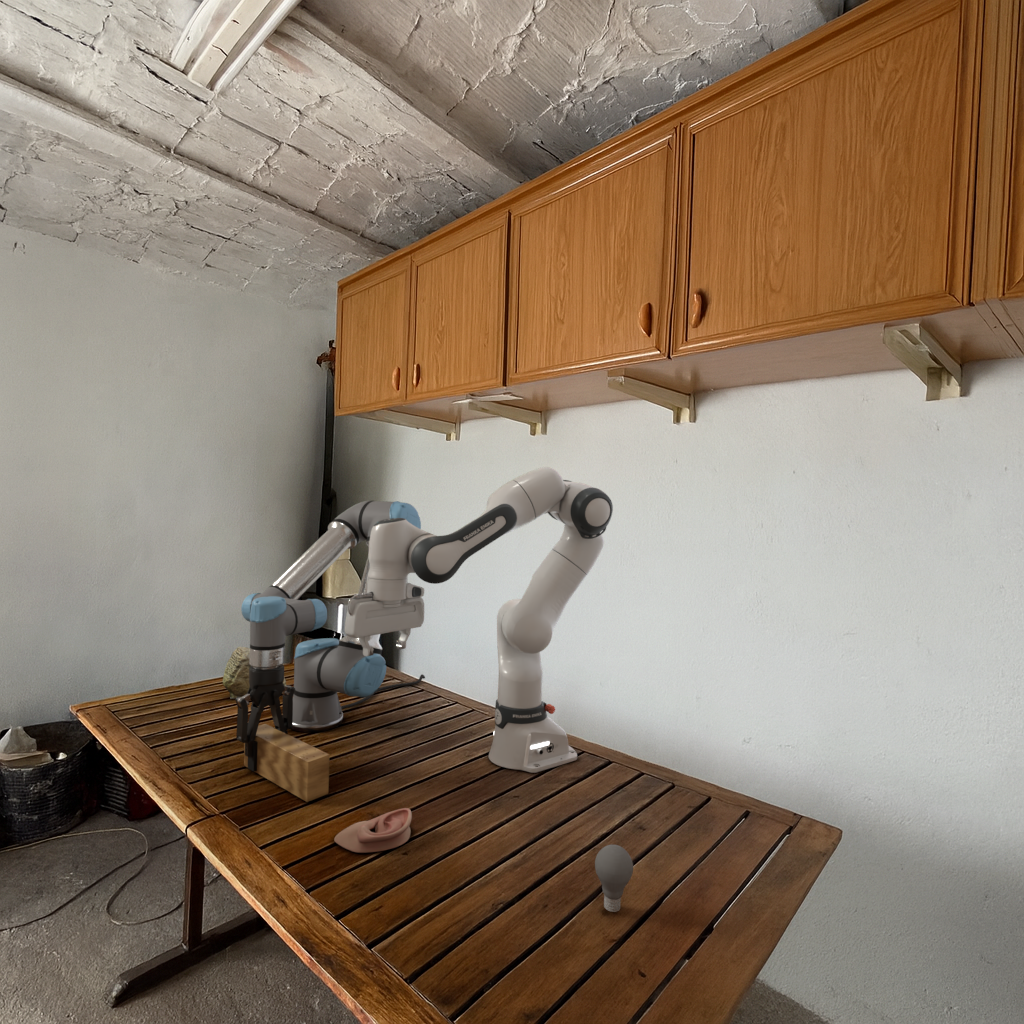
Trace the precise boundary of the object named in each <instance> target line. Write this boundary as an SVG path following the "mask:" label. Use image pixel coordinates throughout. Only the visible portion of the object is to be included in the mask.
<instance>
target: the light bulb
mask: <svg viewBox="0 0 1024 1024" xmlns="http://www.w3.org/2000/svg"><path fill="white" fill-rule="evenodd" d="M594 869H595V874H596V875H597V878H598V880H599V882H600V883H601V888H602V893H603V895H604V896H603V907H604V909H605V910H607V911H608V912H612V913H617V912H619V911H620V910H621V901H622V896H623V894H624V889H625V888H626V886H627V884H629V882H630V881H631V878H632V876H633V872H634V862H633V859H632V857H631V855H630V853H629V852H628V851H627V850H626V849H625V848H624V847H622V846H621V845H618V844H608V845H605V846H603V847H602V848H601V849H600V850H599V851H598V852H597V854H596V856H595V859H594Z"/></svg>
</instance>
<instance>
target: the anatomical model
mask: <svg viewBox="0 0 1024 1024" xmlns="http://www.w3.org/2000/svg"><path fill="white" fill-rule="evenodd" d="M412 819H413V813H412V811H411V809H410V808H408V807H404V808H398V809H395V810H392V811H388V812H385V813H384V814H380V815H379V816H377V817H374V818H372V819H369V820H362V821H358V822H354V823H353V824H351V825H348V826H347V827H346V828H344V829H341V831H340V832H338V833H337V834H336V835H335V837H334V839H333V840H334V842H335V843H336V844H337V845H338V846H339V847H341V848H343V849H346V850H348V851H350V852H353V853H359V854H364V853H376V852H383V851H387V850H391V849H395V848H398V847H399V846H402V845H404V844H405V843H406V842H408V841H409V840H410V838H411V833H412V831H411V827H410V825H411V824H412Z"/></svg>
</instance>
